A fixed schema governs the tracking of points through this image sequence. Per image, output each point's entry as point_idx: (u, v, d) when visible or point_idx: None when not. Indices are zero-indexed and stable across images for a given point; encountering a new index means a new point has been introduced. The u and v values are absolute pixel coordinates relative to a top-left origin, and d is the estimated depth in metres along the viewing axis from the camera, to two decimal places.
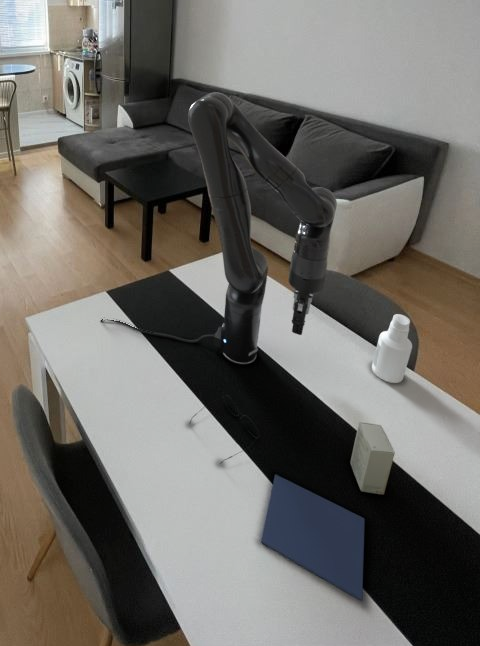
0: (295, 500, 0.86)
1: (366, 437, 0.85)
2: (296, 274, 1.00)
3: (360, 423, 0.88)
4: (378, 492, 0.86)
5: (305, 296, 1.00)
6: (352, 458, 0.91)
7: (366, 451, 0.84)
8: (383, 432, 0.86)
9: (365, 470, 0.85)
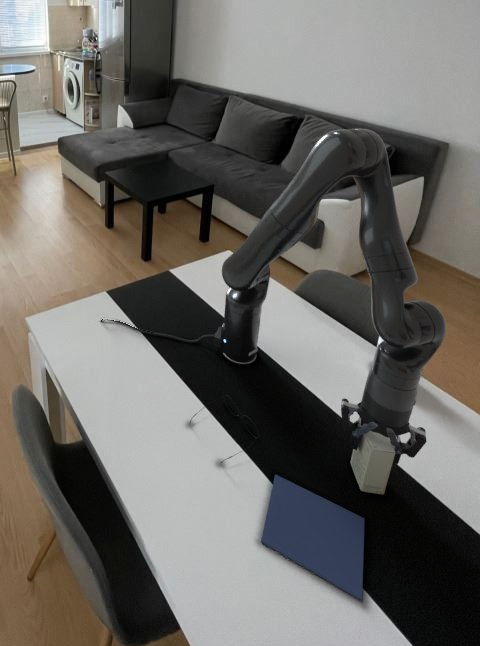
0: (295, 500, 0.86)
1: (367, 437, 0.85)
2: None
3: None
4: (378, 492, 0.86)
5: (360, 406, 0.84)
6: (352, 458, 0.91)
7: (366, 451, 0.84)
8: None
9: (366, 470, 0.85)
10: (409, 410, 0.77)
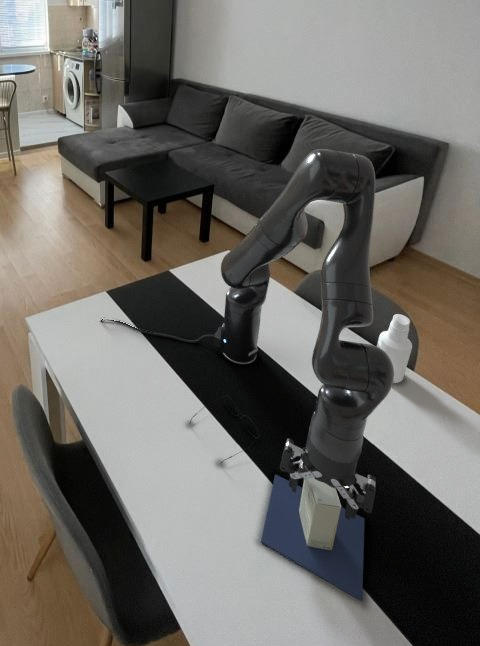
0: (295, 500, 0.86)
1: (312, 487, 0.77)
2: None
3: None
4: (326, 548, 0.78)
5: (304, 452, 0.75)
6: (300, 507, 0.83)
7: (311, 503, 0.76)
8: None
9: (311, 524, 0.76)
10: (354, 461, 0.69)
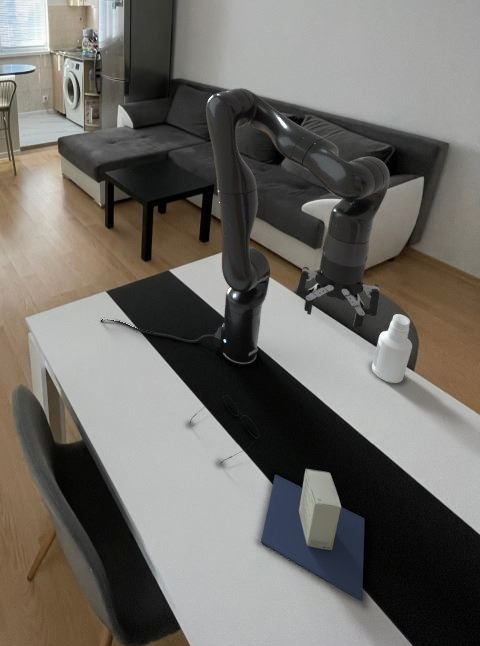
0: (295, 500, 0.86)
1: (312, 487, 0.77)
2: None
3: (307, 470, 0.79)
4: (326, 547, 0.78)
5: (318, 272, 0.88)
6: (300, 507, 0.83)
7: (311, 503, 0.76)
8: (331, 481, 0.77)
9: (310, 524, 0.76)
10: (361, 265, 0.82)
